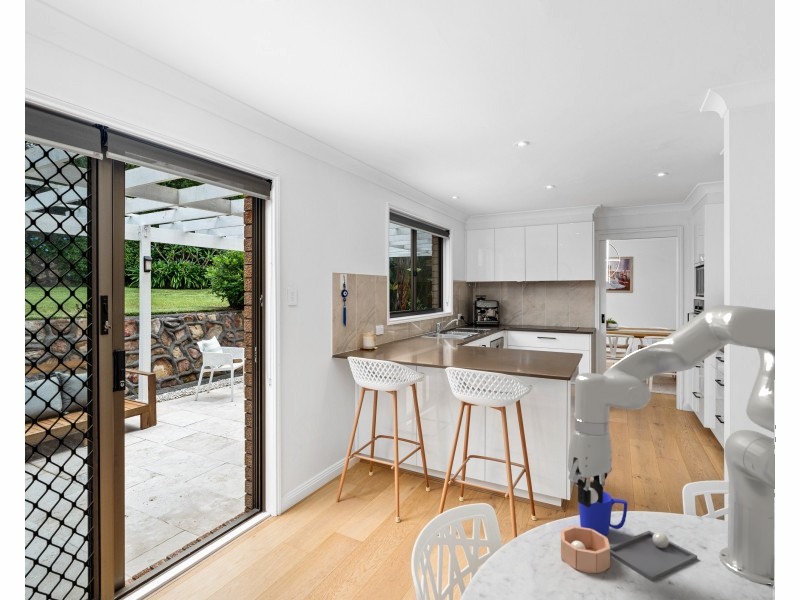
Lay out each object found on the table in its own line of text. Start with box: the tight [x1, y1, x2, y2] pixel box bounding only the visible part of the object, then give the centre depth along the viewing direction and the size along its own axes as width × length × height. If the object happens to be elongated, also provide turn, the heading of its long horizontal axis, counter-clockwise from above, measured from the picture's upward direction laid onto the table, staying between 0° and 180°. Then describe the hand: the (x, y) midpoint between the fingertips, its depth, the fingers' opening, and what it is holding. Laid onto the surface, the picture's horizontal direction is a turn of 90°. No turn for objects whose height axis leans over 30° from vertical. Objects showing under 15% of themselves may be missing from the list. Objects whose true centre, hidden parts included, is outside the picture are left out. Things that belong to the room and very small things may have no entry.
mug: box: [578, 490, 628, 537], centre depth 115 cm, size 8×12×10 cm
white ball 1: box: [571, 541, 586, 550], centre depth 105 cm, size 4×4×4 cm
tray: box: [609, 530, 698, 582], centre depth 105 cm, size 17×12×1 cm
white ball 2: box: [589, 487, 598, 504], centre depth 103 cm, size 4×4×4 cm
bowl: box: [560, 525, 611, 574], centre depth 104 cm, size 11×11×5 cm
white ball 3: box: [652, 531, 670, 548], centre depth 108 cm, size 4×4×4 cm
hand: (590, 501), depth 103 cm, fingers closed on white ball 2, 3 cm apart
